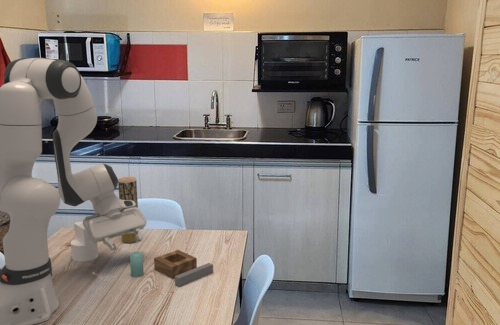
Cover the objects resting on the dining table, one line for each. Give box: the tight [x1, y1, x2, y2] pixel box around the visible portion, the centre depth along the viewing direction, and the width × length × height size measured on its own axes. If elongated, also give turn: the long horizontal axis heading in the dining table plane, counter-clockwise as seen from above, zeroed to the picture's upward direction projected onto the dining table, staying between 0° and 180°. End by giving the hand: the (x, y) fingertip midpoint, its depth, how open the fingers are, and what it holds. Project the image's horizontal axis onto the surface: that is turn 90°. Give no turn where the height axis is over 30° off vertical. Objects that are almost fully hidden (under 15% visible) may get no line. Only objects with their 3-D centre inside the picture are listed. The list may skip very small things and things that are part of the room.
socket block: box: [153, 249, 198, 279], centre depth 156 cm, size 10×10×4 cm
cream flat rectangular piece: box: [174, 262, 214, 288], centre depth 156 cm, size 14×20×4 cm
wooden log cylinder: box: [117, 176, 139, 244], centre depth 182 cm, size 7×7×25 cm
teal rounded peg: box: [129, 251, 144, 278], centre depth 152 cm, size 4×4×8 cm
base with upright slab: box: [70, 220, 99, 263], centre depth 168 cm, size 9×9×12 cm
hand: (126, 245), depth 155 cm, fingers open, 8 cm apart
